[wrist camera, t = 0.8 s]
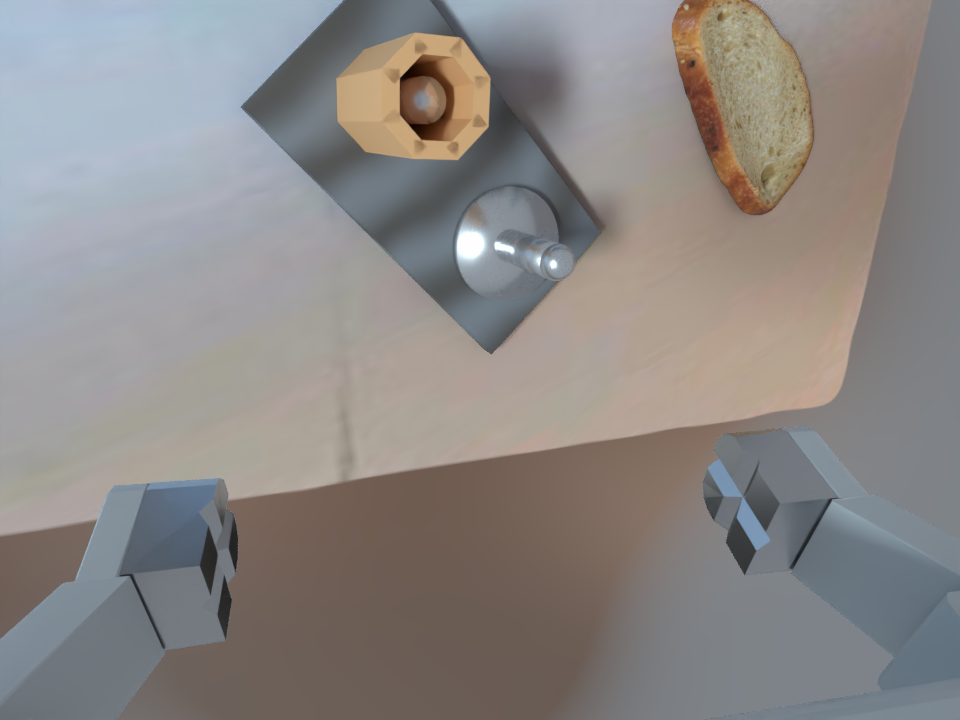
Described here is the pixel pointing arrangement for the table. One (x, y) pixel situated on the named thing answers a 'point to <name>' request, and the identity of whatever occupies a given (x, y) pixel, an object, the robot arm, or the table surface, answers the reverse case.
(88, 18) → the table surface
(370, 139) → the sleeve
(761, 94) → the slice of bread
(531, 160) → the board
